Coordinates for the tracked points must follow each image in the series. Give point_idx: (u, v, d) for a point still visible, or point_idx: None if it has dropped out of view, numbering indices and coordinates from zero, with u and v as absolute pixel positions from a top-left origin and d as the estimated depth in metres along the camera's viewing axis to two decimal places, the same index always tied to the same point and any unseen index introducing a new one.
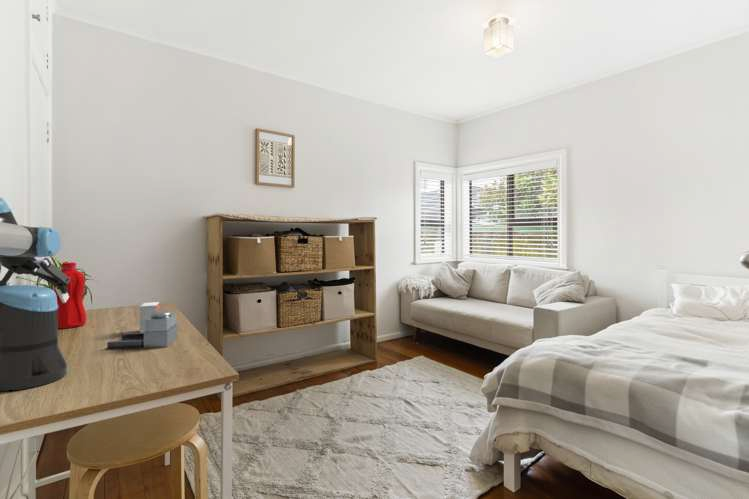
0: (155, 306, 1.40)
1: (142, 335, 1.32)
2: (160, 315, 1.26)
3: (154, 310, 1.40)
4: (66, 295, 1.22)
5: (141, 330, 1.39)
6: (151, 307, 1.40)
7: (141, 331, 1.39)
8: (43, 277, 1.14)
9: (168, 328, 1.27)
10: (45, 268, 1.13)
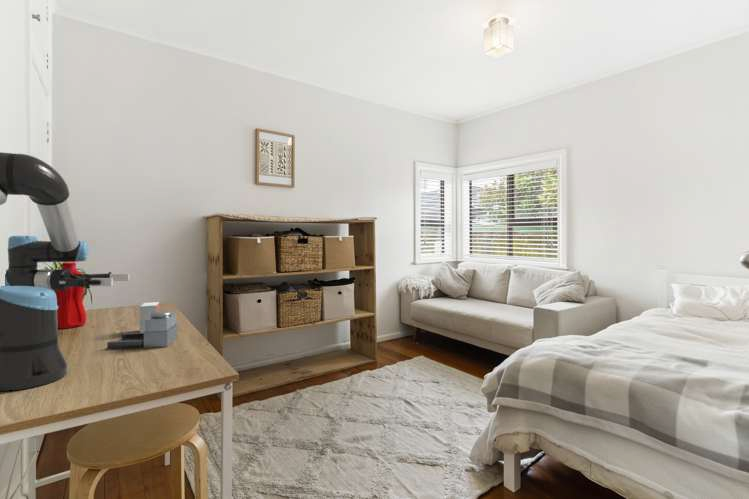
0: (155, 306, 1.40)
1: (142, 335, 1.32)
2: (160, 315, 1.26)
3: (154, 310, 1.40)
4: None
5: (141, 330, 1.39)
6: (151, 307, 1.40)
7: (141, 331, 1.39)
8: (94, 274, 1.43)
9: (168, 328, 1.27)
10: None
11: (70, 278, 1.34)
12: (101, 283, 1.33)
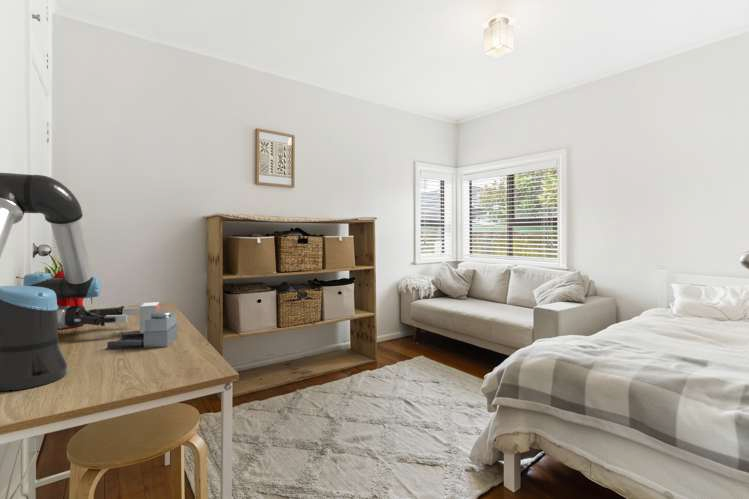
0: (155, 306, 1.40)
1: (142, 335, 1.32)
2: (160, 315, 1.26)
3: (154, 310, 1.40)
4: None
5: (141, 330, 1.39)
6: (151, 307, 1.40)
7: (141, 331, 1.39)
8: (107, 309, 1.45)
9: (168, 328, 1.27)
10: (99, 309, 1.46)
11: (85, 315, 1.36)
12: (116, 320, 1.35)
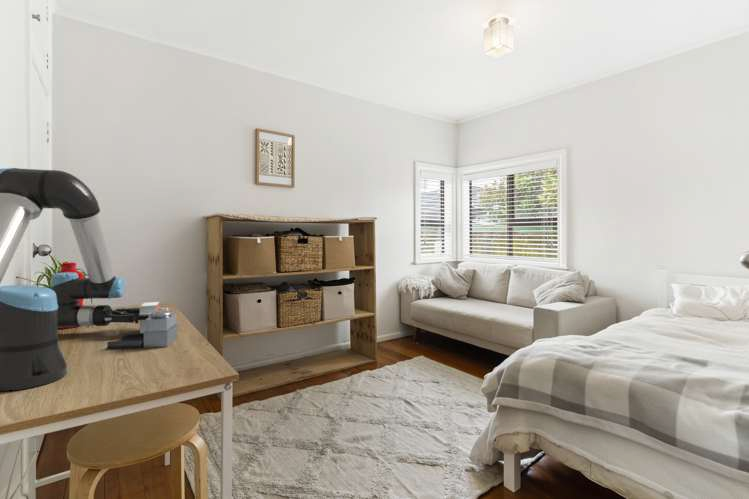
0: (155, 306, 1.40)
1: (142, 335, 1.32)
2: (160, 315, 1.26)
3: (154, 310, 1.40)
4: None
5: (141, 330, 1.39)
6: (151, 307, 1.40)
7: (141, 331, 1.39)
8: (134, 309, 1.45)
9: (168, 328, 1.27)
10: (127, 308, 1.47)
11: (112, 314, 1.38)
12: None
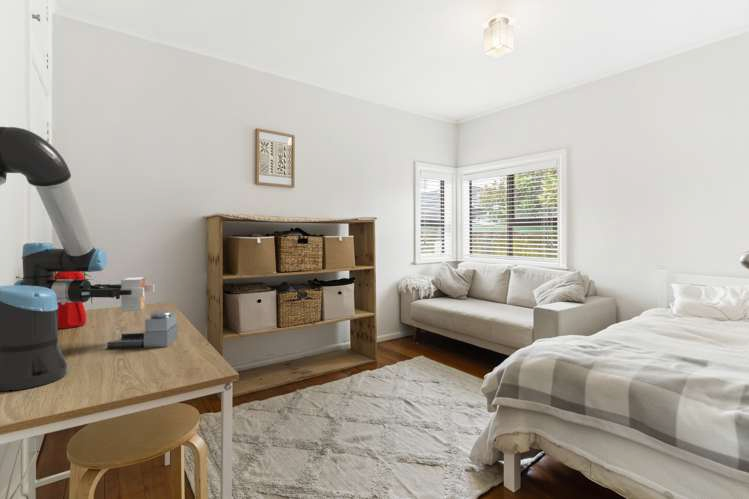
0: (139, 280, 1.26)
1: (142, 335, 1.32)
2: (160, 315, 1.26)
3: (138, 285, 1.26)
4: None
5: (123, 307, 1.24)
6: (134, 281, 1.25)
7: (123, 308, 1.24)
8: (116, 285, 1.31)
9: (168, 328, 1.27)
10: None
11: (91, 289, 1.23)
12: (132, 293, 1.24)
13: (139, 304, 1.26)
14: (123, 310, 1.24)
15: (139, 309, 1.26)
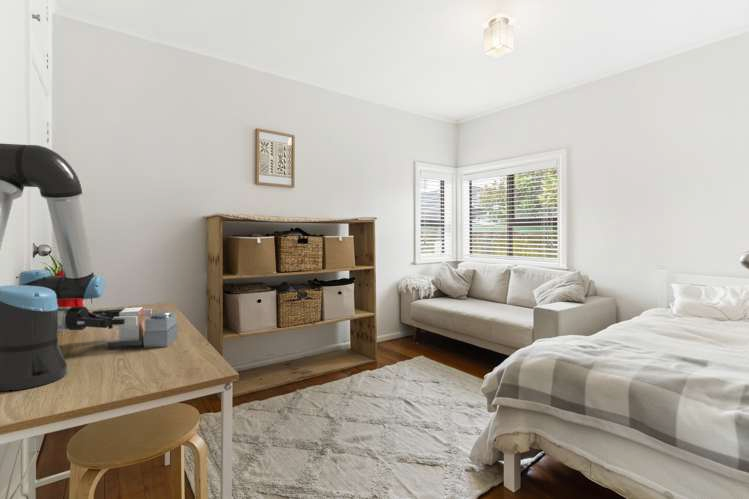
0: (137, 312, 1.25)
1: None
2: (160, 315, 1.26)
3: None
4: None
5: (121, 339, 1.23)
6: (132, 313, 1.24)
7: (121, 340, 1.23)
8: (113, 311, 1.30)
9: (168, 328, 1.27)
10: (105, 310, 1.31)
11: (88, 317, 1.22)
12: (125, 322, 1.21)
13: (137, 336, 1.25)
14: None
15: None
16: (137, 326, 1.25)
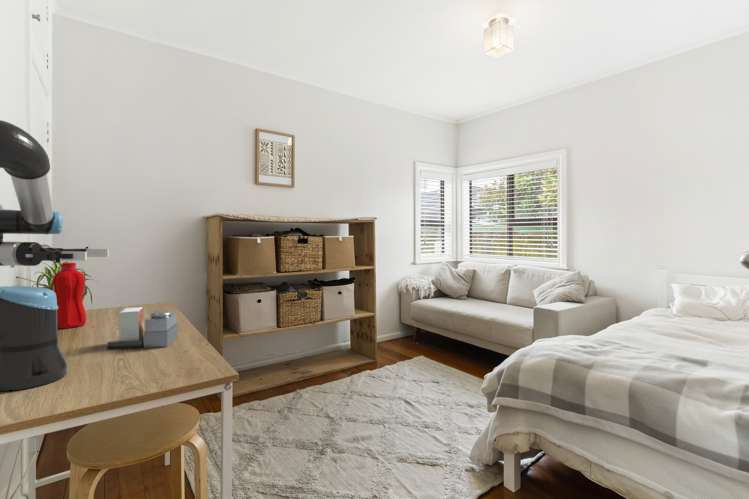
0: (137, 312, 1.25)
1: None
2: (160, 315, 1.26)
3: (136, 317, 1.24)
4: None
5: (121, 339, 1.23)
6: (132, 313, 1.24)
7: (121, 340, 1.23)
8: (68, 249, 1.27)
9: (168, 328, 1.27)
10: None
11: (39, 251, 1.18)
12: (73, 257, 1.17)
13: (137, 336, 1.25)
14: None
15: None
16: (137, 326, 1.25)
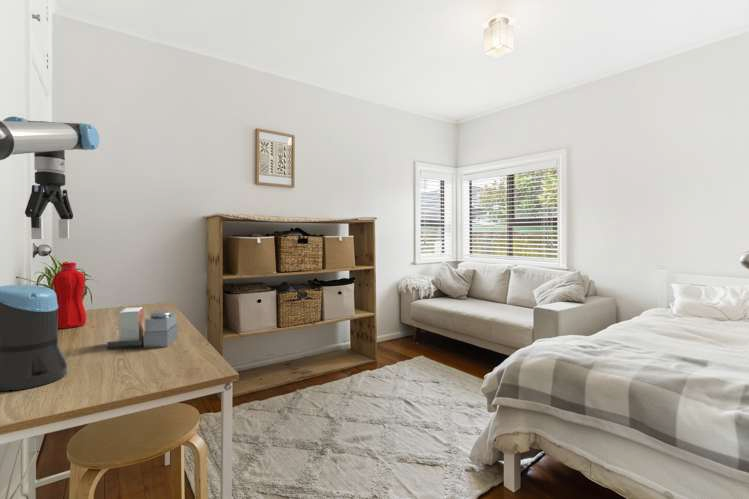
0: (137, 312, 1.25)
1: None
2: (160, 315, 1.26)
3: (136, 317, 1.24)
4: (38, 234, 1.17)
5: (121, 339, 1.23)
6: (132, 313, 1.24)
7: (121, 340, 1.23)
8: None
9: (168, 328, 1.27)
10: None
11: None
12: None
13: (137, 336, 1.25)
14: None
15: None
16: (137, 326, 1.25)
